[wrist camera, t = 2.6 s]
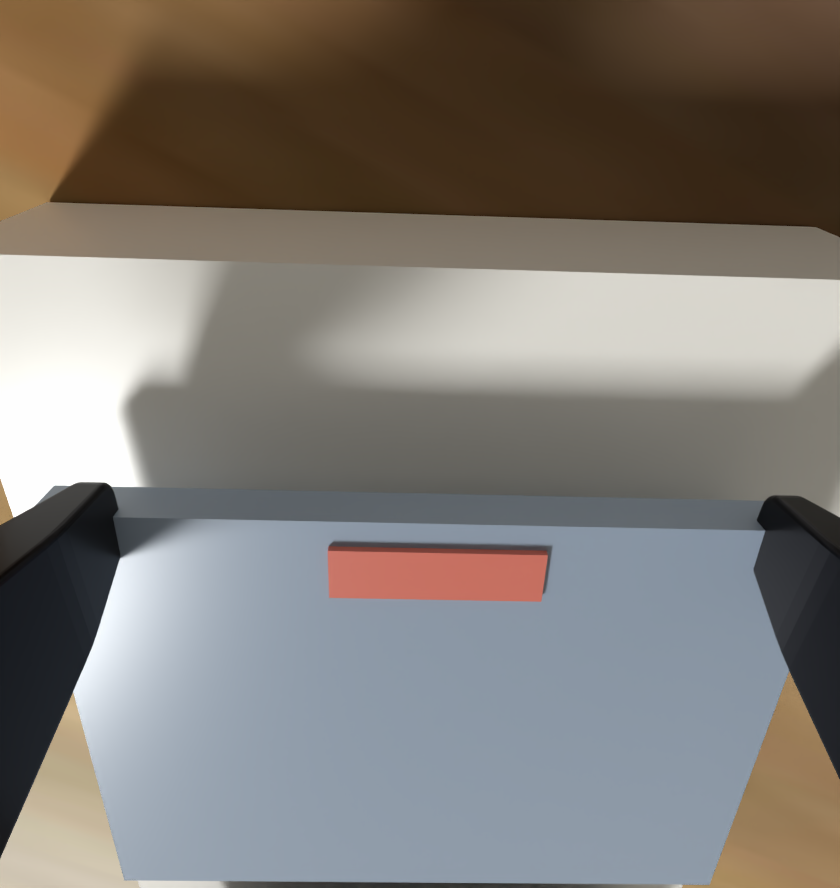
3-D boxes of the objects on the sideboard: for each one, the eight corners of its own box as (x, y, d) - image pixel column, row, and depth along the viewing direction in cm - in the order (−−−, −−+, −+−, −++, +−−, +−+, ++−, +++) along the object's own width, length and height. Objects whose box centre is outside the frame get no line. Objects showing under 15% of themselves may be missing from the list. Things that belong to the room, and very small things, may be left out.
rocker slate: (774, 468, 11) (845, 537, 9) (674, 795, 14) (711, 891, 13) (86, 452, 10) (20, 520, 9) (158, 789, 14) (122, 886, 12)
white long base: (815, 226, 12) (957, 288, 9) (593, 913, 25) (619, 1039, 22) (47, 202, 12) (-86, 256, 9) (216, 911, 25) (186, 1039, 21)
